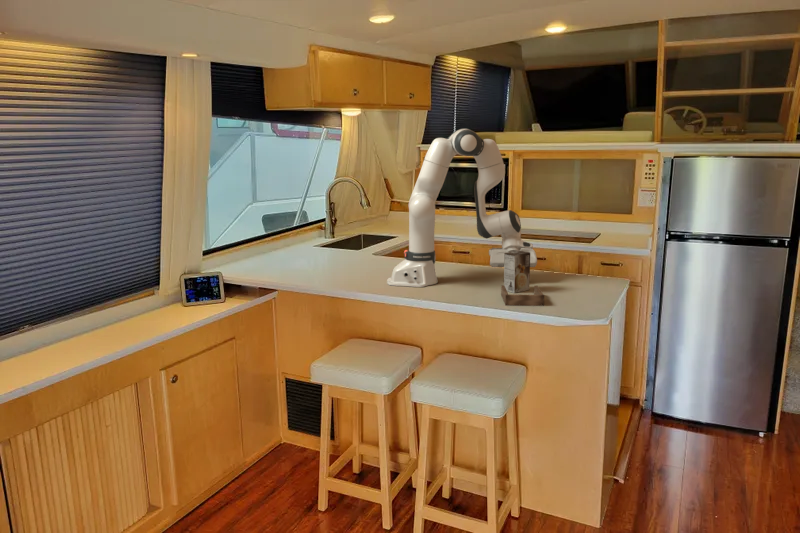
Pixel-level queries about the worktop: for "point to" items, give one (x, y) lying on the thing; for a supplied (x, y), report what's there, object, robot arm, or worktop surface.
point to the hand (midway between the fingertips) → (514, 274)
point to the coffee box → (517, 271)
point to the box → (523, 298)
